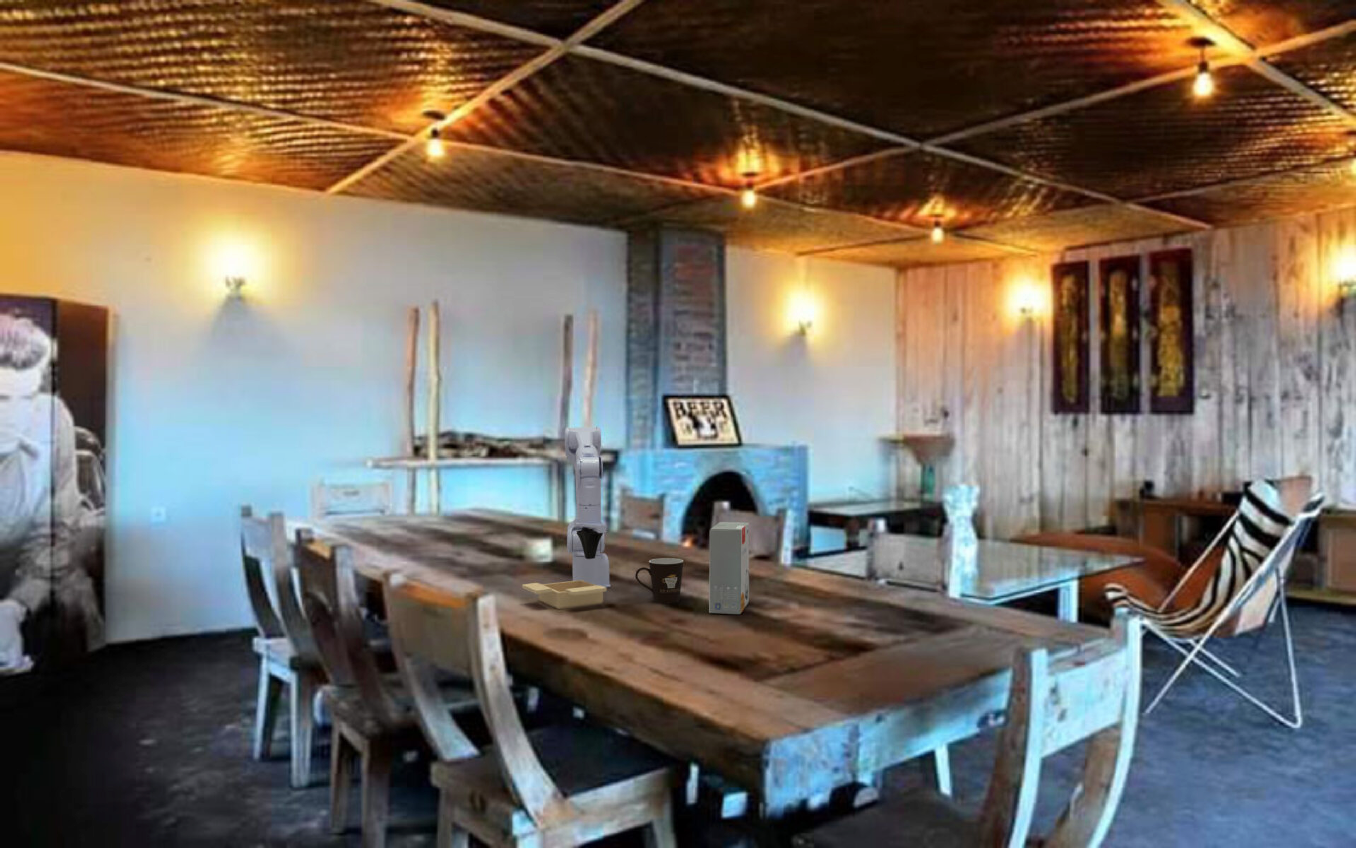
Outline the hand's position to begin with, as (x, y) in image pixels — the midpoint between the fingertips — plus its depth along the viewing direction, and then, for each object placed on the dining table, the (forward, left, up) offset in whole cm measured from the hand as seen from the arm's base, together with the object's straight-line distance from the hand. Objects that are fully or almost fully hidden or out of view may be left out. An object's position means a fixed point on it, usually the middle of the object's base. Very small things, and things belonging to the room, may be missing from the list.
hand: (590, 558), depth 237 cm
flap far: (+15, 0, -6) cm, 16 cm away
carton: (+6, 0, -10) cm, 12 cm away
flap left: (+5, +9, -6) cm, 12 cm away
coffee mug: (-14, +11, -11) cm, 21 cm away
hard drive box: (-24, +27, -11) cm, 38 cm away
